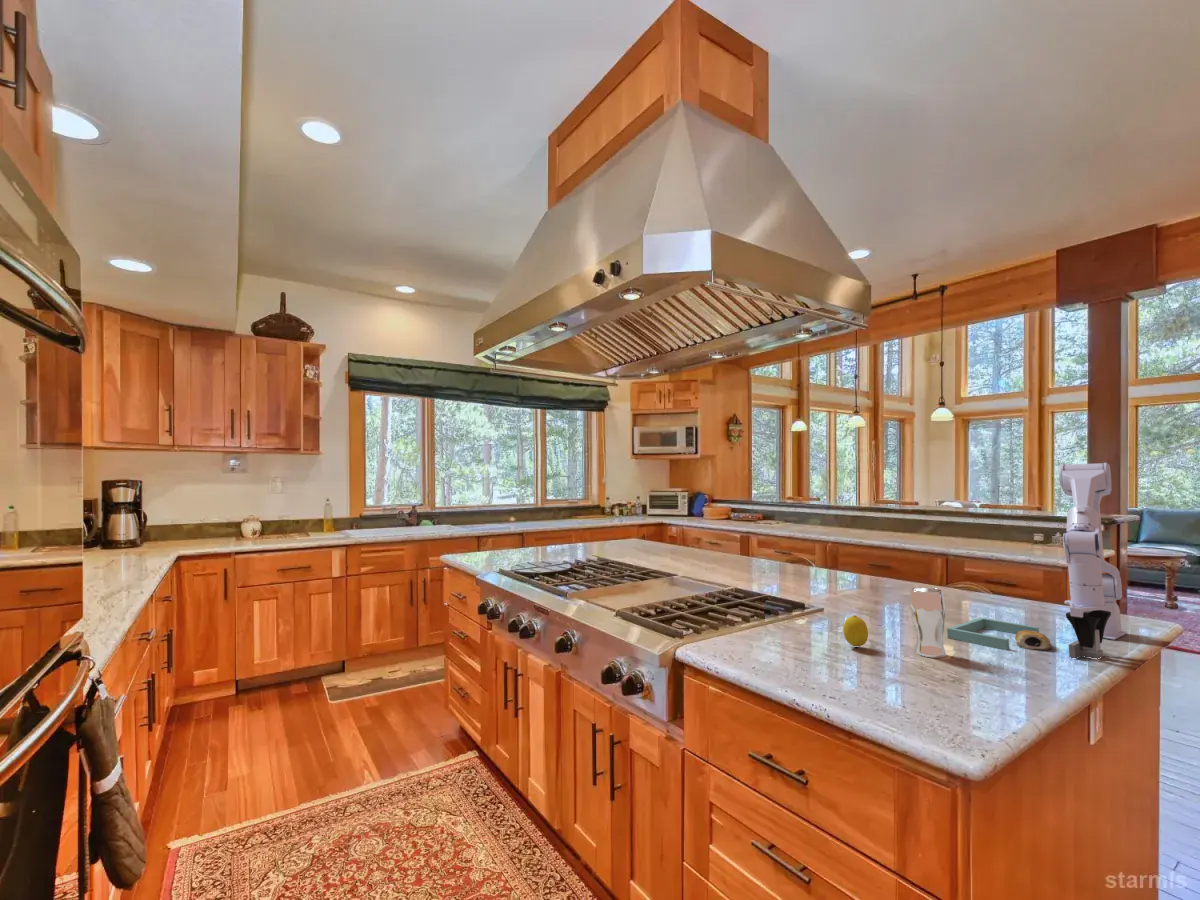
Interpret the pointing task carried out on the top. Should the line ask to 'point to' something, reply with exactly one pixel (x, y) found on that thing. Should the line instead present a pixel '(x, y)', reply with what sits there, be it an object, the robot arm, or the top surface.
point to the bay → (968, 635)
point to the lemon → (855, 631)
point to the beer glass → (928, 620)
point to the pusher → (1086, 649)
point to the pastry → (1032, 640)
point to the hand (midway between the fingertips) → (1091, 644)
